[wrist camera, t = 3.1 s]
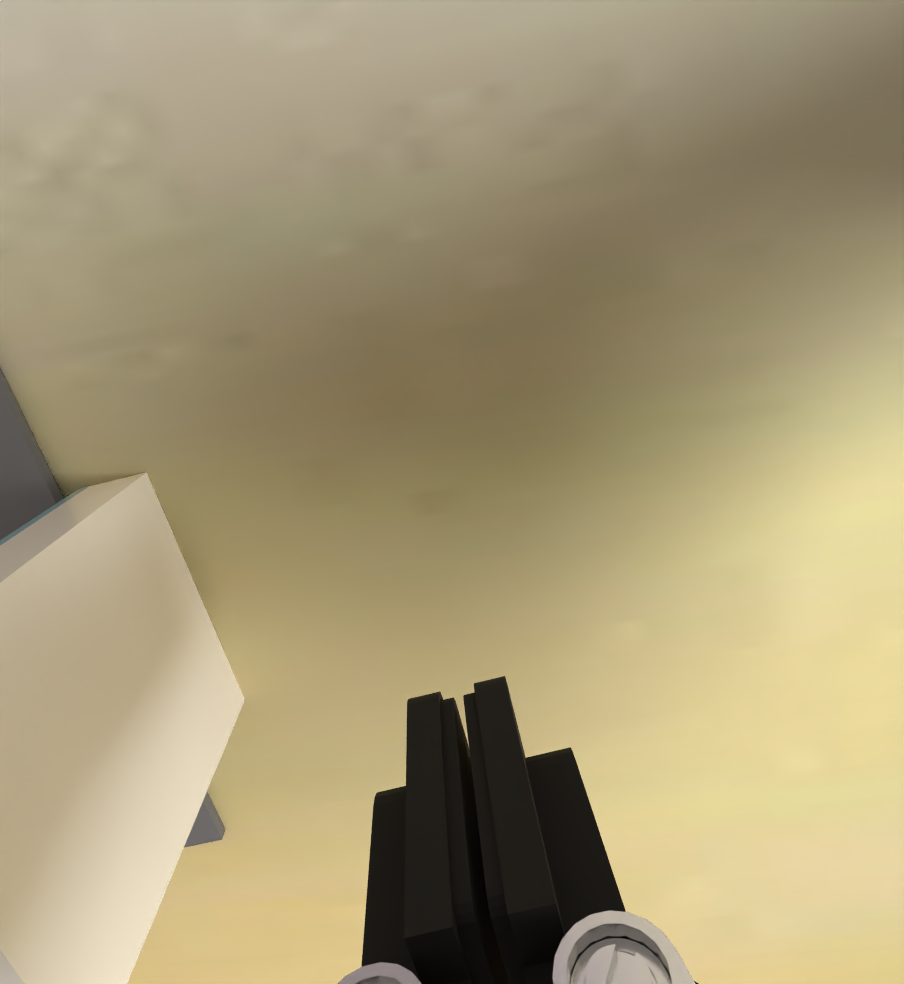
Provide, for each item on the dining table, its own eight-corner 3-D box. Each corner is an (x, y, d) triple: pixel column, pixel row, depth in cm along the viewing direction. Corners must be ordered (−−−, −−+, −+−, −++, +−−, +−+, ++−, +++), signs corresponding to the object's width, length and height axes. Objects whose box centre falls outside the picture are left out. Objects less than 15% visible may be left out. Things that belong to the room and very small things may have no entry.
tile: (146, 472, 18) (-171, 712, 8) (244, 700, 20) (89, 1073, 11) (78, 488, 18) (-311, 744, 8) (186, 713, 21) (-17, 1094, 11)
